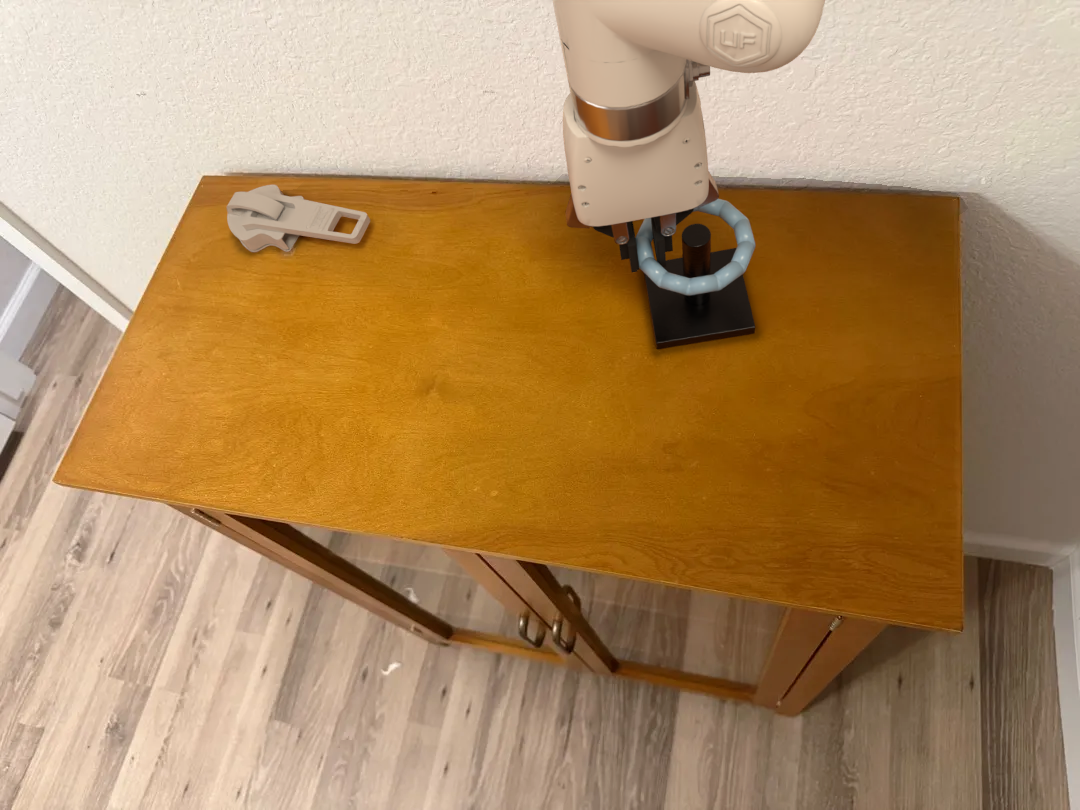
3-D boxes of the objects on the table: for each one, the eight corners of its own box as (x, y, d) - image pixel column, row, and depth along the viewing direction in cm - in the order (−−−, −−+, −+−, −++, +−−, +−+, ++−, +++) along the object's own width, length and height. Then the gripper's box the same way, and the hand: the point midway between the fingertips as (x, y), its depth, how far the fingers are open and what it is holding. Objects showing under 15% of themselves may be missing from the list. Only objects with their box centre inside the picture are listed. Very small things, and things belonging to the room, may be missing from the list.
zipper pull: (358, 273, 83) (341, 249, 79) (224, 246, 88) (202, 222, 84) (387, 215, 86) (372, 189, 82) (255, 192, 91) (236, 167, 87)
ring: (740, 193, 68) (741, 183, 66) (764, 286, 63) (765, 276, 62) (628, 213, 69) (627, 203, 67) (645, 306, 64) (644, 297, 63)
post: (736, 254, 75) (740, 183, 66) (754, 333, 71) (762, 269, 62) (643, 271, 76) (635, 203, 67) (656, 349, 72) (649, 288, 63)
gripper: (739, 22, 51) (730, 205, 67) (507, 72, 53) (553, 238, 69) (763, 104, 47) (747, 276, 64) (514, 154, 50) (560, 308, 66)
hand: (646, 255), depth 66 cm, fingers closed on ring, 1 cm apart
